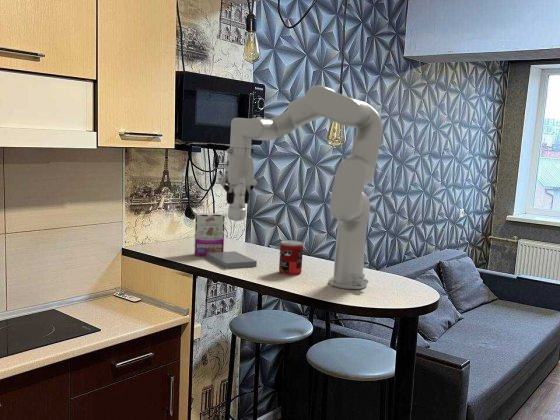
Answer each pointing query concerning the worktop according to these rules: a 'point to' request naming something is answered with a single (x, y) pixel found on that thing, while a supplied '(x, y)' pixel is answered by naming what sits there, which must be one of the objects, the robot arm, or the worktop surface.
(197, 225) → the candy bar box
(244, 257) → the slate board
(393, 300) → the worktop surface
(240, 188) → the plastic bottle
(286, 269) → the canned food
